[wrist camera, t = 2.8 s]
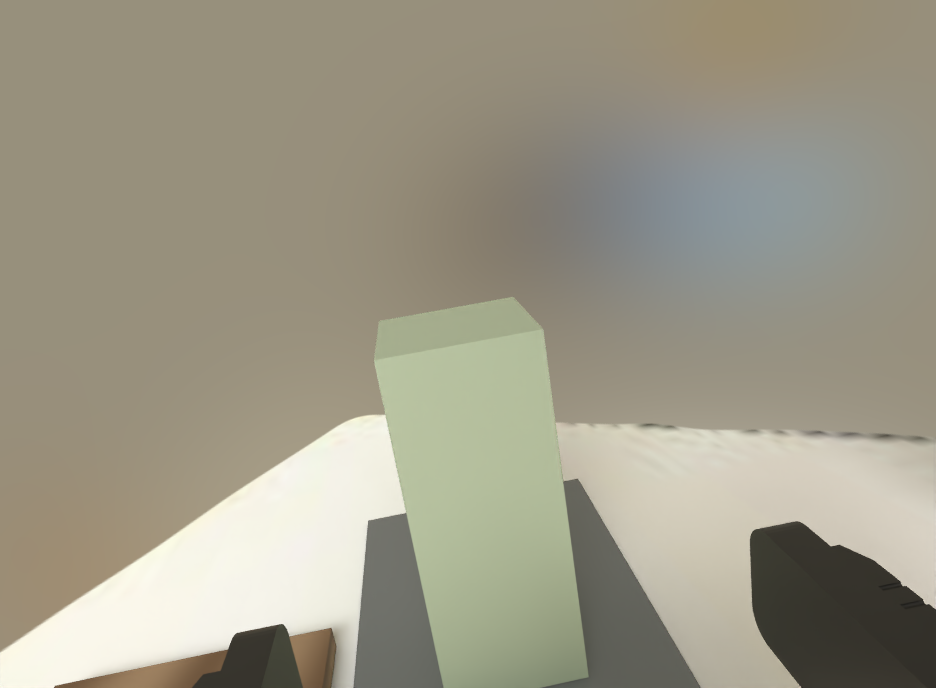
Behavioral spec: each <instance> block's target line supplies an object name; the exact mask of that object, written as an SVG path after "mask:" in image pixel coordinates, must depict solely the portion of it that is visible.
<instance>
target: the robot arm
mask: <svg viewBox="0 0 936 688" xmlns="http://www.w3.org/2000/svg"><path fill="white" fill-rule="evenodd" d="M750 556H751V583H752V606H753V613H754V617H755V620H756V623H757V626H758V628H759V630H760V633H761V635H762V637H763V638H764V640H765V642H766V643H767V645H768V646H769V647H770V649H771V650H772V651H773V652H774V654H775V655H776V656H777V657H778V659H779V660H780V661H781V662H782V664H783V665H784V666H785V667H786V669H787V670H788V671H789V672H790V674H791V675H792V676H793V677H794V679H795V680H796V681H797V682H798V684H799V685H800V686H801V687H802V688H936V609H934V608H933V607H932V606H931V605H929V604H928V605H925V603H924V601H923V599H922V598H920V597H919V596H918V595H917V594H915V593H914V592H913V591H912V590H910V589H909V588H908V587H907V586H904V587H903V586H902V585H901V582H900V581H899V580H898V579H897V578H895V577H894V576H893V575H892V574H890V573H889V572H888V571H886V570H885V569H884V568H883V567H881V566H880V565H879V564H878V563H876V562H875V561H874V560H872V559H870V558H867V557H865V556H863V555H861V554H859V553H856V552H854V551H852V550H850V549H848V548H845V547H843V546H841V545H836V546H830V545H828V544H827V543H826V542H825V541H824V540H822V539H821V538H820V537H819V536H818V535H816V534H815V533H814V532H813V531H812V530H810V529H809V528H808V527H807V526H806V525H804V524H803V523H801V522H797V521H796V522H791V523H786V524H781V525H776V526H771V527H766V528H761V529H756V530H754V531H753V532H752V534H751V537H750ZM192 688H303V685H302V682H301V678H300V674H299V671H298V667H297V663H296V660H295V656H294V652H293V649H292V645H291V641H290V638H289V634H288V631H287V629H286V627H285V626H284V625H283V624H279V625H274V626H270V627H265V628H260V629H255V630H250V631H245V632H240V633H236V634H235V635H234V637H233V638H232V641H231V643H230V646H229V649H228V652H227V654H226V657H225V660H224V662H223V665H222V668H221V671H217V672H212V673H207V674H203V675H202V676H201V677H200V679H199V680H198V681H197V682H196V683H195V684H194V686H193V687H192Z"/></svg>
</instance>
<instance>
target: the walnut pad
mask: <svg viewBox="0 0 936 688" xmlns="http://www.w3.org/2000/svg"><path fill="white" fill-rule="evenodd" d="M289 638H290V641H291V645H292V649H293V652H294V656H295V660H296V663H297V667H298V671H299V674H300V678H301V682H302V685H303V688H331V681H332V674H333V666H334V659H335V651H336V644H335V640H334V636H333V633H332V629H331V628H329V629H324V630H319V631H314V632H310V633H305V634H300V635H295V636H291V637H289ZM227 652H228V650H224V651H219V652H214V653H210V654H205V655H200V656H195V657H191V658H186V659H181V660H176V661H172V662H167V663H162V664H157V665H152V666H148V667H143V668H138V669H133V670H129V671H124V672H119V673H114V674H110V675H105V676H100V677H95V678H91V679H86V680H81V681H76V682H72V683H67V684H62V685H57V686H55V687H54V688H192V687H193V686H194V684H195V683H196V682H197V681H198V680H199V679H200V677H201V676H202V675H203V674H207V673H212V672H217V671H221V668H222V665H223V662H224V660H225V657H226V654H227Z"/></svg>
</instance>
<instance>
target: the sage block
mask: <svg viewBox="0 0 936 688" xmlns="http://www.w3.org/2000/svg"><path fill="white" fill-rule="evenodd" d="M374 363H375V368H376V372H377V377H378V382H379V386H380V391H381V396H382V401H383V406H384V410H385V415H386V420H387V424H388V429H389V434H390V438H391V443H392V448H393V453H394V457H395V462H396V467H397V471H398V476H399V481H400V485H401V490H402V495H403V500H404V504H405V509H406V514H407V518H408V523H409V528H410V532H411V537H412V542H413V546H414V551H415V556H416V561H417V565H418V570H419V575H420V579H421V584H422V589H423V593H424V598H425V603H426V608H427V612H428V617H429V622H430V626H431V631H432V636H433V640H434V645H435V650H436V654H437V659H438V664H439V669H440V673H441V678H442V683H443V687H444V688H542V687H546V686H551V685H555V684H560V683H564V682H569V681H574V680H578V679H583V678H587V677H589V675H588V667H587V660H586V652H585V645H584V637H583V629H582V622H581V614H580V606H579V599H578V591H577V584H576V576H575V568H574V561H573V553H572V545H571V538H570V530H569V523H568V515H567V507H566V500H565V492H564V485H563V477H562V469H561V462H560V454H559V446H558V439H557V431H556V424H555V416H554V408H553V401H552V393H551V386H550V378H549V370H548V363H547V355H546V347H545V340H544V332H543V329H542V327H541V326H540V325H539V324H538V323H537V322H536V321H535V320H534V319H533V318H532V317H531V316H530V315H529V314H528V312H527V311H526V310H525V309H524V308H523V307H522V306H521V305H520V304H519V303H518V302H517V301H516V300H515V298H514V297H510V298H504V299H499V300H493V301H488V302H482V303H477V304H471V305H465V306H460V307H455V308H449V309H444V310H438V311H432V312H427V313H421V314H416V315H410V316H405V317H399V318H394V319H388V320H383V321H379V326H378V333H377V341H376V348H375V356H374Z"/></svg>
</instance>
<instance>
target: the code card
mask: <svg viewBox="0 0 936 688" xmlns="http://www.w3.org/2000/svg"><path fill="white" fill-rule="evenodd" d="M563 485H564V492H565V500H566V507H567V515H568V523H569V530H570V538H571V545H572V553H573V561H574V568H575V576H576V584H577V591H578V599H579V606H580V614H581V622H582V629H583V637H584V645H585V652H586V660H587V667H588V675H589V677H587V678H583V679H578V680H574V681H569V682H564V683H560V684H555V685H551V686H546V687H542V688H700V686H699V684H698V683H697V681H696V679H695V677H694V676H693V674H692V672H691V671H690V669H689V667H688V666H687V664H686V662H685V660H684V659H683V657H682V655H681V654H680V652H679V650H678V648H677V647H676V645H675V643H674V642H673V640H672V638H671V637H670V635H669V633H668V631H667V630H666V628H665V626H664V625H663V623H662V621H661V620H660V618H659V616H658V614H657V613H656V611H655V609H654V608H653V606H652V604H651V603H650V601H649V599H648V597H647V596H646V594H645V592H644V591H643V589H642V587H641V586H640V584H639V582H638V580H637V579H636V577H635V575H634V574H633V572H632V570H631V569H630V567H629V565H628V563H627V562H626V560H625V558H624V557H623V555H622V553H621V552H620V550H619V548H618V546H617V545H616V543H615V541H614V540H613V538H612V536H611V535H610V533H609V531H608V529H607V528H606V526H605V524H604V523H603V521H602V519H601V517H600V516H599V514H598V512H597V511H596V509H595V507H594V506H593V504H592V502H591V500H590V499H589V497H588V495H587V494H586V492H585V490H584V489H583V487H582V485H581V483H580V482H579V480H578V479H574V480H569V481H564V482H563ZM354 688H444V687H443V683H442V678H441V673H440V669H439V664H438V659H437V654H436V650H435V645H434V640H433V636H432V631H431V626H430V622H429V617H428V612H427V608H426V603H425V598H424V593H423V589H422V584H421V579H420V575H419V570H418V565H417V561H416V556H415V551H414V546H413V542H412V537H411V532H410V528H409V523H408V518H407V514H406V513H405V514H400V515H395V516H390V517H385V518H380V519H375V520H370V521H368V530H367V541H366V553H365V564H364V575H363V587H362V598H361V610H360V621H359V632H358V644H357V655H356V666H355V678H354Z"/></svg>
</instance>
